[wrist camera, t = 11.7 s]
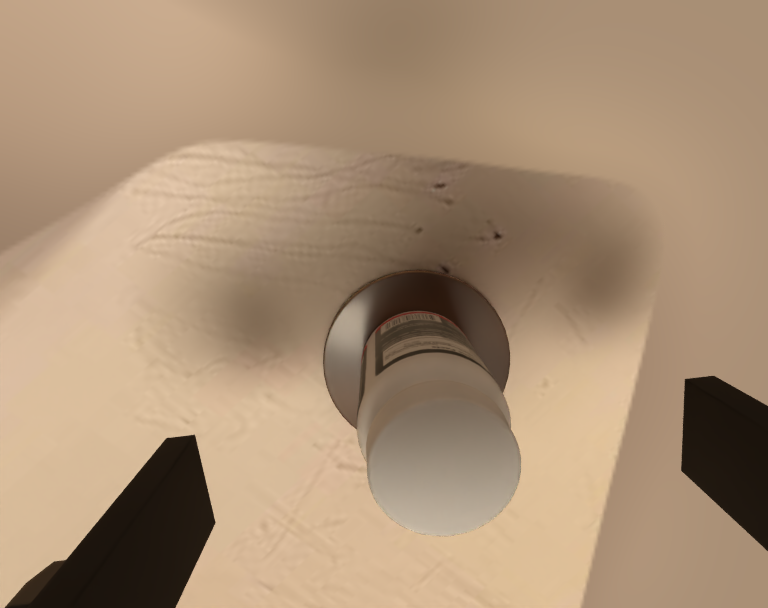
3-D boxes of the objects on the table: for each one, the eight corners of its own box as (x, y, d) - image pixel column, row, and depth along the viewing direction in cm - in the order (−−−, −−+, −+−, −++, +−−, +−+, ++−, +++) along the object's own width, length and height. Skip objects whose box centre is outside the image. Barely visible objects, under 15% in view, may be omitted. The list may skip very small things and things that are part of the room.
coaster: (311, 281, 20) (310, 283, 20) (501, 259, 20) (504, 261, 20) (337, 453, 22) (336, 459, 21) (512, 433, 22) (515, 438, 21)
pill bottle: (432, 432, 21) (469, 581, 13) (340, 379, 20) (318, 501, 12) (494, 345, 20) (574, 446, 12) (400, 286, 20) (418, 353, 12)
